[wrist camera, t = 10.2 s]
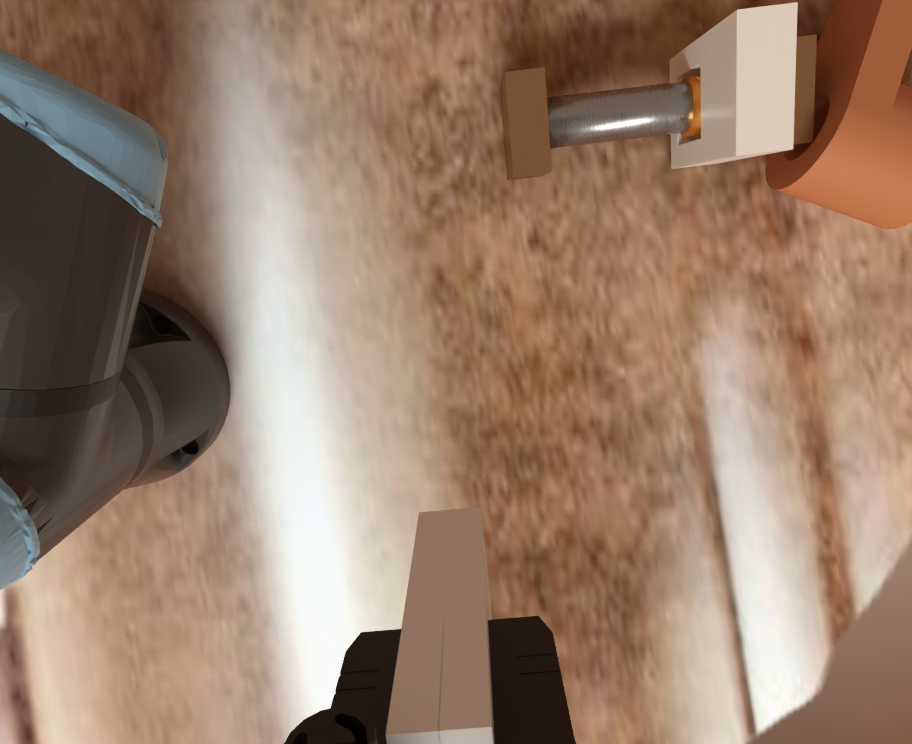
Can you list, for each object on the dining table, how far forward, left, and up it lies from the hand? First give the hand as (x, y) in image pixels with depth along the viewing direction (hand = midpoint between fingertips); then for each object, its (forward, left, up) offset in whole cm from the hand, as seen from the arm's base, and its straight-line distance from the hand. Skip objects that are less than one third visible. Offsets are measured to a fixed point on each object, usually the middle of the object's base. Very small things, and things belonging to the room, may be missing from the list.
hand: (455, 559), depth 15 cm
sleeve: (+17, +13, -32) cm, 39 cm away
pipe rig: (+14, +13, -32) cm, 37 cm away
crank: (+29, +15, -33) cm, 46 cm away
